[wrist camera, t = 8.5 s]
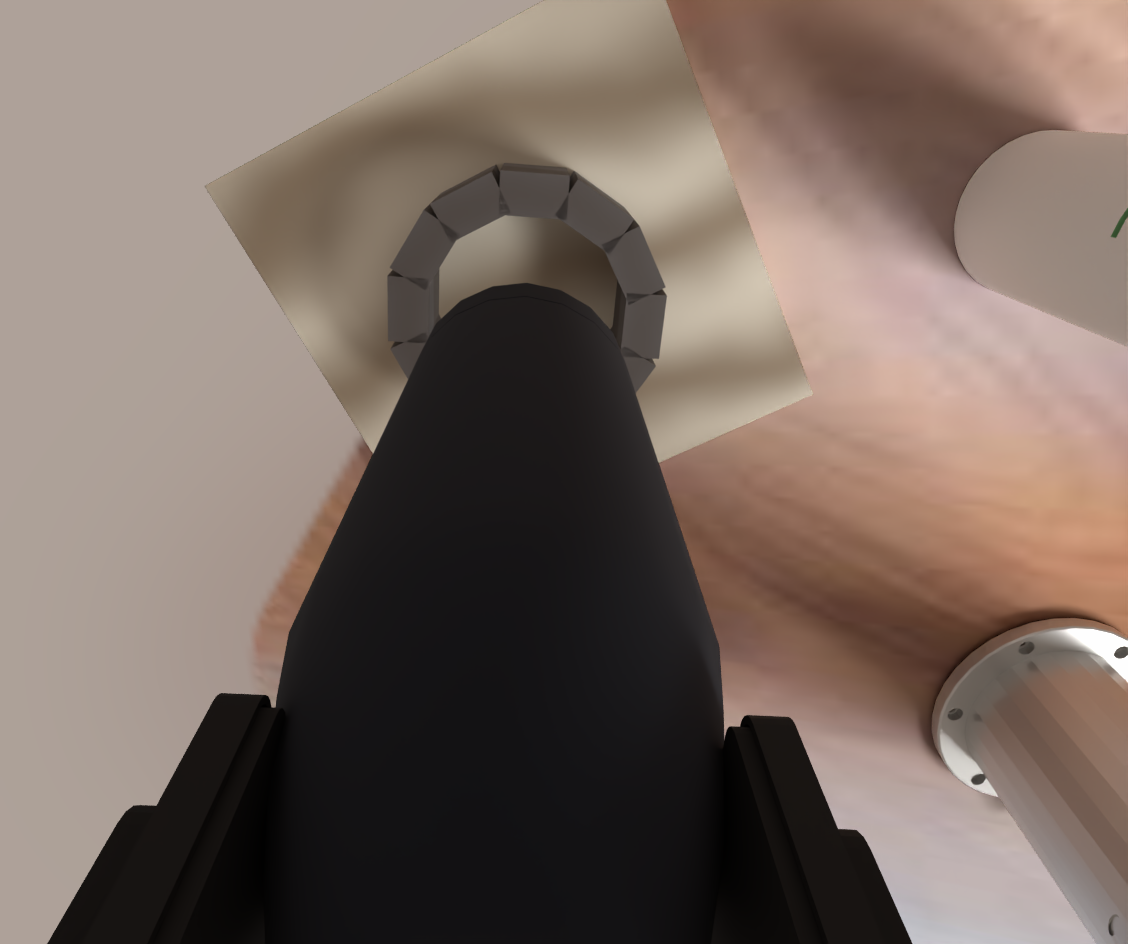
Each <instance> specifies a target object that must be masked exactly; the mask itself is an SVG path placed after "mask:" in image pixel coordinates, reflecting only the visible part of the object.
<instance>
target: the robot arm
mask: <svg viewBox="0 0 1128 944" xmlns="http://www.w3.org/2000/svg"><path fill="white" fill-rule="evenodd" d="M284 721H285V711H284V709H283V708H271V702H270V699H269V697H268V696H266V695H251V694H250V695H249V694H227V693H221V694H219V695H217V697H216V698H215V699H214V701H213V702H212V704H211V706H210V708H209V710H208V712H207V714H206V715H205V717H204V719H203V721H202V723H201V725H200V727H199V728H198V730H197V732H196V734H195V736H194V737H193V739H192V741H191V743H190V745H189V747H188V749H187V751H186V752H185V754H184V756H183V758H182V760H181V762H180V763H179V765H178V767H177V769H176V771H175V773H174V774H173V776H172V778H171V780H170V782H169V784H168V786H167V788H166V789H165V791H164V793H163V795H162V797H161V798H160V800H159V802H158V804H157V806H147V805H145V806H144V805H137V806H133V807H131V808H130V809H129V810H128V811H126V812H125V813H124V815H123V816H122V818H121V819H120V821H119V822H118V823H117V825H116V827H115V828H114V830H113V832H112V834H111V835H110V837H109V839H108V840H107V842H106V844H105V846H104V847H103V849H102V851H101V852H100V854H99V856H98V857H97V859H96V861H95V863H94V865H93V866H92V868H91V870H90V871H89V873H88V875H87V877H86V878H85V880H84V882H83V883H82V885H81V887H80V888H79V890H78V892H77V894H76V895H75V897H74V899H73V900H72V902H71V904H70V906H69V907H68V909H67V911H66V912H65V914H64V916H63V918H62V919H61V921H60V923H59V925H58V926H57V928H56V930H55V931H54V933H53V935H52V937H51V938H50V940H49V942H48V943H47V944H265V929H264V893H263V870H264V853H265V835H266V817H267V800H268V792H269V787H270V782H271V777H272V771H273V767H274V762H275V758H276V754H277V750H278V746H279V741H280V737H281V733H282V729H283V725H284ZM932 735H933V740H934V744H935V747H936V749H937V751H938V753H939V754H940V756H941V758H942V760H943V762H944V763H945V764H946V766H947V767H948V769H949V770H950V771H951V773H952V774H953V775H954V776H955V777H956V778H958V779H959V780H960V781H961V782H962V783H963V784H965V785H967V786H969V787H971V788H972V789H974V790H976V791H978V792H981V793H985V794H988V795H991V796H995V797H999V798H1000V800H1001V801H1002V803H1003V804H1004V806H1005V807H1006V809H1007V810H1008V812H1009V813H1010V815H1011V816H1012V818H1013V819H1014V821H1015V822H1016V824H1017V825H1018V827H1019V828H1020V830H1021V831H1022V833H1023V834H1024V836H1025V837H1026V839H1027V840H1028V842H1029V843H1030V845H1031V846H1032V848H1033V849H1034V851H1035V852H1036V854H1037V855H1038V857H1039V858H1040V860H1041V861H1042V863H1043V864H1044V866H1045V867H1046V869H1047V871H1048V872H1049V874H1050V875H1051V877H1052V878H1053V880H1054V881H1055V883H1056V884H1057V886H1058V887H1059V889H1060V890H1061V892H1062V893H1063V895H1064V896H1065V898H1066V899H1067V901H1068V902H1069V904H1070V905H1071V907H1072V908H1073V910H1074V911H1075V913H1076V914H1077V916H1078V917H1079V919H1080V920H1081V922H1082V923H1083V925H1084V926H1085V928H1086V929H1087V931H1088V932H1089V934H1090V935H1091V937H1092V938H1093V940H1094V941H1095V943H1096V944H1128V637H1127V636H1126V635H1124V634H1123V633H1121V632H1119V631H1118V630H1116V629H1114V628H1113V627H1111V626H1108V625H1105V624H1102V623H1099V622H1096V621H1093V620H1086V619H1078V618H1055V619H1048V620H1042V621H1037V622H1032V623H1028V624H1026V625H1023V626H1020V627H1017V628H1014V629H1011V630H1009V631H1007V632H1005V633H1003V634H1001V635H999V636H997V637H995V638H993V639H991V640H989V641H988V642H986V643H985V644H983V645H982V646H981V647H979V648H978V649H976V650H975V651H973V652H972V653H971V654H970V655H969V656H968V657H967V658H966V659H965V660H963V661H962V662H961V663H960V664H959V665H958V666H957V667H956V668H955V670H954V671H953V672H952V674H951V675H950V676H949V678H948V679H947V680H946V682H945V683H944V685H943V687H942V689H941V691H940V693H939V695H938V697H937V699H936V702H935V706H934V710H933V714H932ZM723 758H724V851H723V860H722V868H721V875H720V882H719V889H718V896H717V903H716V910H715V917H714V924H713V932H712V939H711V944H912V942H911V940H910V937H909V935H908V933H907V931H906V928H905V926H904V924H903V922H902V919H901V917H900V915H899V913H898V910H897V908H896V906H895V904H894V901H893V899H892V897H891V895H890V892H889V890H888V888H887V885H886V883H885V881H884V879H883V876H882V874H881V872H880V870H879V867H878V865H877V863H876V861H875V858H874V856H873V854H872V852H871V849H870V847H869V846H868V844H867V842H866V840H865V839H864V837H863V836H862V835H861V834H860V833H859V832H858V831H857V830H847V829H838V828H837V826H836V823H835V821H834V818H833V816H832V813H831V811H830V809H829V806H828V804H827V801H826V799H825V796H824V794H823V791H822V789H821V787H820V784H819V782H818V779H817V777H816V774H815V772H814V770H813V767H812V765H811V762H810V760H809V757H808V755H807V752H806V750H805V748H804V745H803V743H802V740H801V738H800V735H799V733H798V731H797V728H796V726H795V724H794V722H793V720H792V719H791V718H789V717H776V716H752V715H747V716H744V718H743V719H742V722H741V725H740V727H732V726H731V727H728V729H727V732H726V735H725V740H724V745H723Z"/></svg>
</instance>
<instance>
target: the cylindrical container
mask: <svg viewBox="0 0 1128 944" xmlns="http://www.w3.org/2000/svg"><path fill="white" fill-rule="evenodd" d="M954 238H955V246H956V249H957V253H958V257H959V259H960V261H961V263H962V264H963V266H964V268H965V270H966V271H967V272H968V273H969V274H970V276H971V277H972V278H973V279H974V280H975V281H976V282H978V283H980V284H981V285H983V286H984V287H986V288H988V289H990V290H992V291H995V292H997V293H999V294H1002V295H1004V296H1007V297H1009V298H1011V299H1014V300H1016V301H1019V302H1021V303H1023V304H1026V305H1028V306H1031V307H1033V308H1035V309H1038V310H1040V311H1042V312H1045V313H1047V314H1050V315H1052V316H1054V317H1057V318H1059V319H1062V320H1064V321H1066V322H1069V323H1071V324H1074V325H1076V326H1078V327H1081V328H1083V329H1085V330H1088V331H1090V332H1093V333H1095V334H1097V335H1100V336H1102V337H1105V338H1107V339H1109V340H1112V341H1114V342H1117V343H1119V344H1121V345H1124V346H1126V347H1128V134H1116V133H1099V132H1082V131H1065V130H1046V131H1038V132H1034V133H1030V134H1026V135H1023V136H1021V137H1019V138H1017V139H1015V140H1013V141H1011V142H1008V143H1007V144H1005V145H1004V146H1003V147H1001V148H1000V149H998V150H997V151H996V152H994V153H993V154H992V155H991V156H990V157H989V158H988V159H987V160H986V161H985V162H984V163H983V164H982V165H981V166H980V167H979V168H978V169H977V171H976V172H975V173H974V175H973V176H972V178H971V179H970V180H969V182H968V184H967V186H966V188H965V190H964V192H963V194H962V196H961V198H960V201H959V204H958V208H957V211H956V216H955V224H954Z"/></svg>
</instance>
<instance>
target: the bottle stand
mask: <svg viewBox="0 0 1128 944" xmlns="http://www.w3.org/2000/svg"><path fill="white" fill-rule="evenodd" d="M205 188H206V189H207V191H208V193H209V194H210V196H211V197H212V199H213V201H214V202H215V204H216V205H217V207H218V209H219V210H220V212H221V213H222V215H223V216H224V218H225V220H226V221H227V223H228V224H229V226H230V228H231V229H232V231H233V232H234V234H235V236H236V237H237V239H238V240H239V242H240V243H241V245H242V247H243V248H244V250H245V251H246V253H247V255H248V256H249V258H250V259H251V261H252V263H253V264H254V266H255V267H256V269H257V270H258V272H259V274H260V275H261V277H262V278H263V280H264V282H265V283H266V285H267V286H268V288H269V290H270V291H271V293H272V294H273V296H274V297H275V299H276V301H277V302H278V304H279V305H280V307H281V308H282V310H283V312H284V313H285V315H286V316H287V318H288V320H289V321H290V323H291V324H292V326H293V328H294V329H295V331H296V332H297V334H298V336H299V337H300V339H301V340H302V342H303V344H304V345H305V347H306V348H307V350H308V351H309V353H310V355H311V356H312V358H313V359H314V361H315V362H316V364H317V366H318V367H319V369H320V370H321V372H322V374H323V375H324V377H325V378H326V380H327V381H328V383H329V385H330V386H331V388H332V389H333V391H334V393H335V394H336V396H337V397H338V399H339V401H340V402H341V404H342V405H343V407H344V409H345V410H346V412H347V413H348V415H349V417H350V418H351V420H352V421H353V423H354V424H355V426H356V428H357V429H358V431H359V432H360V434H361V436H362V437H363V439H364V440H365V442H366V444H367V445H368V447H369V448H370V450H371V451H372V453H374V451H375V449H376V446H377V444H378V442H379V440H380V438H381V436H382V434H383V432H384V429H385V427H386V425H387V423H388V421H389V419H390V417H391V415H392V412H393V410H394V408H395V406H396V404H397V402H398V400H399V398H400V396H401V393H402V391H403V389H404V387H405V385H406V383H407V381H408V379H409V376H410V374H411V372H412V370H413V368H414V366H415V364H416V362H417V359H418V357H419V355H420V353H421V351H422V349H423V347H424V345H425V344H426V342H427V340H428V338H429V336H430V334H431V332H432V330H433V328H434V327H435V325H436V323H437V322H438V321H439V320H440V319H441V318H442V317H444V316H445V315H446V314H447V313H448V312H449V311H450V310H451V309H452V308H453V307H454V306H455V305H456V304H457V303H459V302H460V301H461V300H463V299H465V298H467V297H470V296H472V295H474V294H476V293H478V292H481V291H483V290H485V289H487V288H490V287H492V286H500V285H509V284H519V283H531V284H535V285H540V286H545V287H549V288H554V289H559V290H562V291H563V292H565V293H567V294H569V295H570V296H572V297H574V298H575V299H577V300H579V301H581V302H582V303H584V304H586V305H587V306H589V307H591V308H592V310H593V311H594V312H595V313H596V314H597V315H598V316H599V317H600V319H601V320H602V321H603V322H604V323H605V324H606V325H607V326H608V328H609V329H610V330H611V331H612V332H613V334H614V337H615V339H616V341H617V344H618V346H619V348H620V351H621V353H622V355H623V358H624V360H625V363H626V366H627V369H628V372H629V375H630V378H631V381H632V384H633V387H634V390H635V393H636V396H637V399H638V402H639V405H640V408H641V411H642V414H643V417H644V420H645V423H646V426H647V429H648V432H649V435H650V438H651V441H652V444H653V447H654V450H655V453H656V456H657V459H658V462H659V463H660V462H662V461H664V460H666V459H669V458H671V457H673V456H675V455H678V454H680V453H682V452H685V451H687V450H689V449H691V448H694V447H696V446H698V445H700V444H703V443H705V442H707V441H709V440H712V439H714V438H716V437H718V436H721V435H723V434H725V433H727V432H730V431H732V430H734V429H736V428H739V427H741V426H743V425H745V424H748V423H750V422H752V421H754V420H757V419H759V418H761V417H763V416H766V415H768V414H770V413H772V412H775V411H777V410H779V409H781V408H784V407H786V406H788V405H790V404H793V403H795V402H797V401H800V400H802V399H804V398H806V397H809V396H811V395H813V393H812V390H811V388H810V385H809V382H808V380H807V377H806V374H805V372H804V369H803V366H802V364H801V361H800V358H799V356H798V353H797V350H796V347H795V345H794V342H793V339H792V337H791V334H790V331H789V329H788V326H787V323H786V321H785V318H784V315H783V313H782V310H781V307H780V305H779V302H778V299H777V297H776V294H775V291H774V288H773V286H772V283H771V280H770V278H769V275H768V272H767V270H766V267H765V264H764V262H763V259H762V256H761V254H760V251H759V248H758V246H757V243H756V240H755V238H754V235H753V232H752V230H751V227H750V224H749V221H748V219H747V216H746V213H745V211H744V208H743V205H742V203H741V200H740V197H739V195H738V192H737V189H736V187H735V184H734V181H733V179H732V176H731V173H730V171H729V168H728V165H727V162H726V160H725V157H724V154H723V152H722V149H721V146H720V144H719V141H718V138H717V136H716V133H715V130H714V128H713V125H712V122H711V120H710V117H709V114H708V112H707V109H706V106H705V104H704V101H703V98H702V95H701V93H700V90H699V87H698V85H697V82H696V79H695V77H694V74H693V71H692V69H691V66H690V63H689V61H688V58H687V55H686V53H685V50H684V47H683V45H682V42H681V39H680V36H679V34H678V31H677V28H676V26H675V23H674V20H673V18H672V15H671V12H670V10H669V7H668V4H667V2H666V0H543V1H541V2H540V3H538V4H536V5H534V6H532V7H530V8H528V9H527V10H525V11H523V12H521V13H519V14H517V15H516V16H514V17H512V18H510V19H508V20H507V21H505V22H503V23H501V24H499V25H497V26H496V27H494V28H492V29H490V30H488V31H486V32H485V33H483V34H481V35H479V36H477V37H476V38H474V39H472V40H470V41H468V42H466V43H465V44H463V45H461V46H459V47H457V48H455V49H454V50H452V51H450V52H448V53H446V54H445V55H443V56H441V57H439V58H437V59H436V60H434V61H432V62H430V63H428V64H426V65H424V66H423V67H421V68H419V69H417V70H416V71H414V72H412V73H410V74H408V75H406V76H404V77H403V78H401V79H399V80H397V81H395V82H394V83H392V84H390V85H388V86H386V87H384V88H383V89H381V90H379V91H378V92H375V93H374V94H372V95H370V96H368V97H366V98H364V99H363V100H361V101H359V102H357V103H356V104H354V105H352V106H350V107H348V108H346V109H345V110H343V111H341V112H339V113H337V114H335V115H333V116H332V117H330V118H328V119H326V120H324V121H322V122H321V123H319V124H317V125H315V126H313V127H312V128H310V129H308V130H306V131H304V132H302V133H301V134H299V135H297V136H295V137H293V138H291V139H290V140H288V141H286V142H284V143H282V144H280V145H279V146H277V147H275V148H273V149H271V150H270V151H268V152H266V153H264V154H262V155H260V156H259V157H257V158H255V159H253V160H252V161H250V162H248V163H246V164H244V165H242V166H240V167H239V168H237V169H235V170H234V171H231V172H230V173H228V174H226V175H224V176H222V177H220V178H219V179H217V180H215V181H213V182H211V183H209V184H208V185H206V186H205Z"/></svg>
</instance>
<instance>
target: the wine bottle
mask: <svg viewBox="0 0 1128 944" xmlns="http://www.w3.org/2000/svg"><path fill="white" fill-rule="evenodd" d="M276 708H283V709H284V711H285V721H284V725H283V729H282V733H281V737H280V741H279V746H278V750H277V754H276V758H275V762H274V767H273V771H272V777H271V782H270V787H269V792H268V800H267V817H266V835H265V853H264V870H263V893H264V929H265V944H711V939H712V932H713V924H714V917H715V910H716V903H717V896H718V889H719V882H720V875H721V868H722V860H723V851H724V758H723V745H724V710H723V695H722V680H721V665H720V651H719V644H718V641H717V638H716V635H715V632H714V629H713V626H712V623H711V620H710V617H709V614H708V611H707V608H706V605H705V602H704V599H703V596H702V592H701V589H700V586H699V583H698V580H697V577H696V574H695V571H694V568H693V565H692V562H691V559H690V556H689V553H688V550H687V547H686V544H685V541H684V538H683V535H682V532H681V529H680V526H679V523H678V520H677V517H676V514H675V511H674V508H673V505H672V502H671V499H670V496H669V493H668V490H667V487H666V484H665V481H664V478H663V475H662V472H661V469H660V465H659V462H658V459H657V456H656V453H655V450H654V447H653V444H652V441H651V438H650V435H649V432H648V429H647V426H646V423H645V420H644V417H643V414H642V411H641V408H640V405H639V402H638V399H637V396H636V393H635V390H634V387H633V384H632V381H631V378H630V375H629V372H628V369H627V366H626V363H625V360H624V358H623V355H622V353H621V351H620V348H619V346H618V344H617V341H616V339H615V337H614V334H613V332H612V331H611V330H610V329H609V328H608V326H607V325H606V324H605V323H604V322H603V321H602V320H601V319H600V317H599V316H598V315H597V314H596V313H595V312H594V311H593V310H592V308H591V307H589V306H587V305H586V304H584V303H582V302H581V301H579V300H577V299H575V298H574V297H572V296H570V295H569V294H567V293H565V292H563V291H562V290H559V289H554V288H549V287H545V286H540V285H535V284H531V283H519V284H509V285H500V286H492V287H490V288H487V289H485V290H483V291H481V292H478V293H476V294H474V295H472V296H470V297H467V298H465V299H463V300H461V301H460V302H459V303H457V304H456V305H455V306H454V307H453V308H452V309H451V310H450V311H449V312H448V313H447V314H446V315H445V316H444V317H442V318H441V319H440V320H439V321H438V322H437V323H436V325H435V327H434V328H433V330H432V332H431V334H430V336H429V338H428V340H427V342H426V344H425V345H424V347H423V349H422V351H421V353H420V355H419V357H418V359H417V362H416V364H415V366H414V368H413V370H412V372H411V374H410V376H409V379H408V381H407V383H406V385H405V387H404V389H403V391H402V393H401V396H400V398H399V400H398V402H397V404H396V406H395V408H394V410H393V412H392V415H391V417H390V419H389V421H388V423H387V425H386V427H385V429H384V432H383V434H382V436H381V438H380V440H379V442H378V444H377V446H376V449H375V451H374V453H373V455H372V457H371V459H370V461H369V463H368V466H367V468H366V470H365V472H364V474H363V476H362V478H361V480H360V483H359V485H358V487H357V489H356V491H355V493H354V495H353V497H352V500H351V502H350V504H349V506H348V508H347V510H346V512H345V514H344V517H343V519H342V521H341V523H340V525H339V527H338V529H337V531H336V534H335V536H334V538H333V540H332V542H331V544H330V546H329V548H328V551H327V553H326V555H325V557H324V559H323V561H322V563H321V565H320V568H319V570H318V572H317V574H316V576H315V578H314V580H313V582H312V585H311V587H310V589H309V591H308V593H307V595H306V597H305V599H304V602H303V604H302V606H301V608H300V610H299V612H298V614H297V616H296V619H295V621H294V623H293V625H292V627H291V629H290V631H289V635H288V640H287V646H286V651H285V656H284V662H283V667H282V672H281V678H280V683H279V688H278V694H277V700H276Z"/></svg>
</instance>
